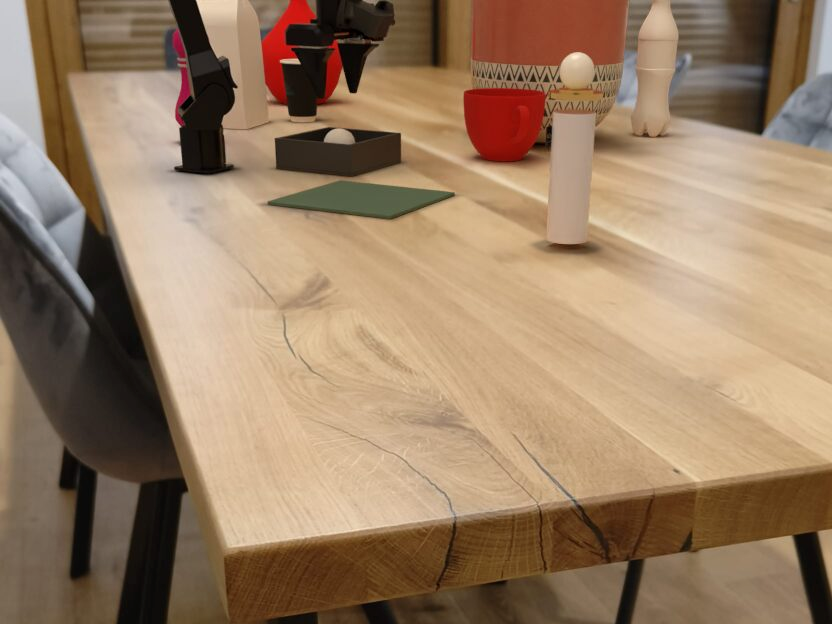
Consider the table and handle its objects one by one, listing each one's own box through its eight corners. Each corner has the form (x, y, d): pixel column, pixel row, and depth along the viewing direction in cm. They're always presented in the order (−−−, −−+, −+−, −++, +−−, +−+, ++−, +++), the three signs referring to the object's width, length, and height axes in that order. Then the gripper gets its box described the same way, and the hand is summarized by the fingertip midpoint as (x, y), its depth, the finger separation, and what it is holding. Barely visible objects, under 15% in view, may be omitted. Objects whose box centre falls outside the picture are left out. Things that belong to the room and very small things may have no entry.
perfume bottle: (602, 246, 124) (616, 52, 115) (573, 254, 120) (586, 55, 111) (559, 238, 127) (570, 49, 118) (530, 246, 123) (539, 51, 114)
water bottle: (624, 135, 204) (636, -15, 193) (636, 131, 210) (649, -15, 199) (661, 138, 201) (676, -14, 190) (673, 134, 207) (688, -14, 196)
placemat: (390, 219, 135) (390, 215, 135) (267, 204, 142) (267, 201, 142) (454, 195, 150) (455, 192, 150) (340, 183, 157) (340, 180, 157)
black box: (351, 176, 162) (350, 145, 160) (276, 168, 167) (274, 138, 165) (401, 162, 174) (401, 132, 172) (329, 155, 179) (328, 126, 177)
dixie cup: (330, 119, 220) (328, 59, 215) (310, 124, 213) (308, 62, 208) (295, 117, 222) (292, 58, 218) (274, 121, 216) (271, 60, 211)
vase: (246, 105, 240) (237, -50, 227) (281, 96, 256) (274, -49, 242) (325, 109, 235) (320, -49, 222) (356, 100, 251) (353, -48, 238)
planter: (510, 127, 213) (516, -30, 201) (641, 138, 201) (655, -27, 189) (439, 143, 192) (441, -30, 181) (580, 157, 180) (592, -27, 168)
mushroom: (361, 163, 170) (360, 129, 167) (332, 166, 167) (331, 131, 165) (347, 159, 173) (346, 125, 171) (318, 161, 171) (317, 127, 169)
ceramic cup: (483, 170, 168) (485, 100, 164) (452, 153, 183) (453, 88, 178) (563, 167, 171) (567, 98, 167) (526, 151, 186) (529, 87, 181)
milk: (186, 126, 208) (173, -28, 196) (211, 119, 218) (201, -28, 206) (246, 129, 205) (236, -27, 194) (269, 121, 215) (261, -27, 204)
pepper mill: (210, 146, 186) (201, 16, 177) (170, 144, 187) (158, 14, 179) (226, 140, 193) (218, 14, 184) (187, 138, 194) (177, 13, 185)
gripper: (349, -19, 148) (352, 105, 155) (414, -19, 163) (414, 93, 170) (280, -20, 153) (285, 100, 160) (349, -21, 168) (351, 89, 175)
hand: (337, 95), depth 166 cm, fingers open, 9 cm apart
